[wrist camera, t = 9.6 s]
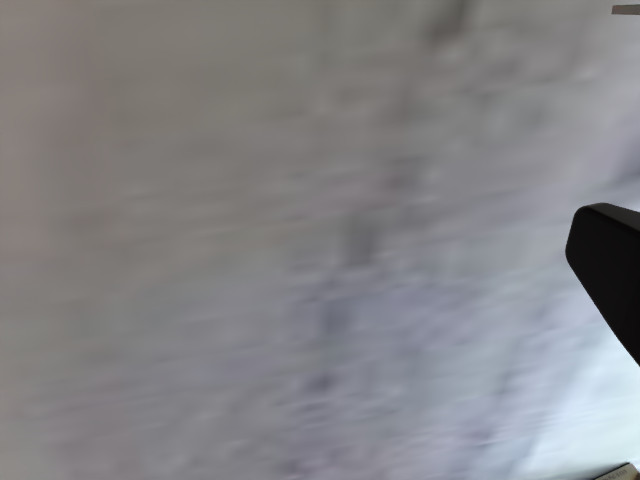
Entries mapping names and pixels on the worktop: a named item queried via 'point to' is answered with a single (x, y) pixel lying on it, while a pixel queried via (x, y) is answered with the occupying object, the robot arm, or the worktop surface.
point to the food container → (626, 9)
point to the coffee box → (622, 474)
